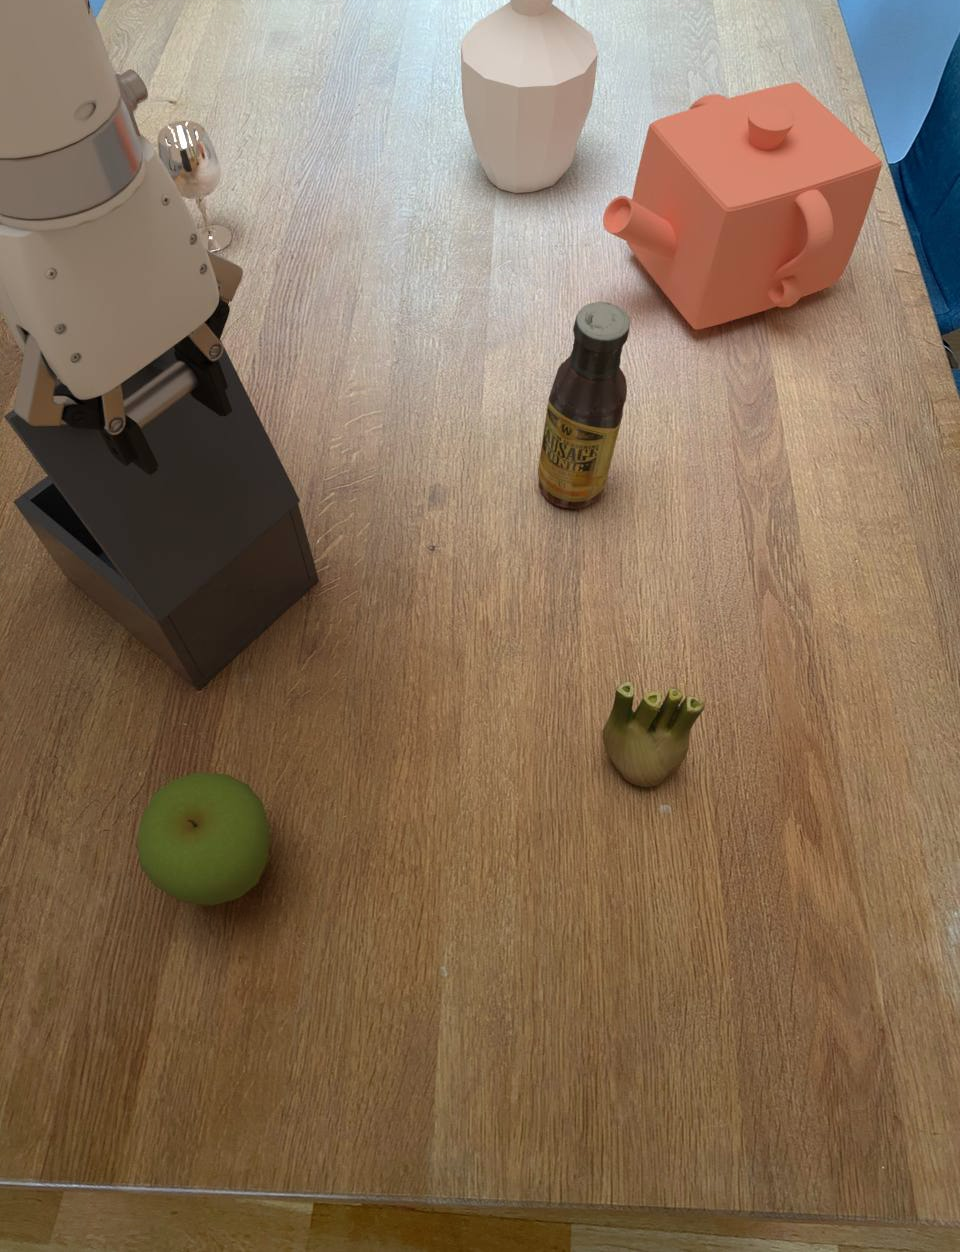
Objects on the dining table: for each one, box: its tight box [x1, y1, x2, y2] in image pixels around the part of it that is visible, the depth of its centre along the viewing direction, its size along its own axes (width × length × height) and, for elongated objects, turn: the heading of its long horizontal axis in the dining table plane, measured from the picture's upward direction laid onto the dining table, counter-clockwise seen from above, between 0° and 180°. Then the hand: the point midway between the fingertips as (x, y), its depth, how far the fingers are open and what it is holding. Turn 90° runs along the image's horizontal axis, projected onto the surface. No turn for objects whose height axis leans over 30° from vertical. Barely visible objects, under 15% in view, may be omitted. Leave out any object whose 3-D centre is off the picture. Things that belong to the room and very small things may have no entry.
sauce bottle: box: [537, 301, 631, 510], centre depth 77 cm, size 6×6×20 cm
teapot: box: [602, 81, 883, 330], centre depth 92 cm, size 25×23×18 cm
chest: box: [13, 475, 320, 692], centre depth 76 cm, size 17×14×11 cm
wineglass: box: [157, 120, 233, 253], centre depth 98 cm, size 6×6×12 cm
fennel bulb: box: [601, 681, 705, 788], centre depth 68 cm, size 6×5×12 cm
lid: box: [3, 339, 301, 622], centre depth 61 cm, size 18×14×5 cm
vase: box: [460, 0, 599, 194], centre depth 98 cm, size 14×14×25 cm
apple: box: [136, 772, 271, 906], centre depth 63 cm, size 9×8×12 cm
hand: (175, 430), depth 57 cm, fingers closed on lid, 5 cm apart
